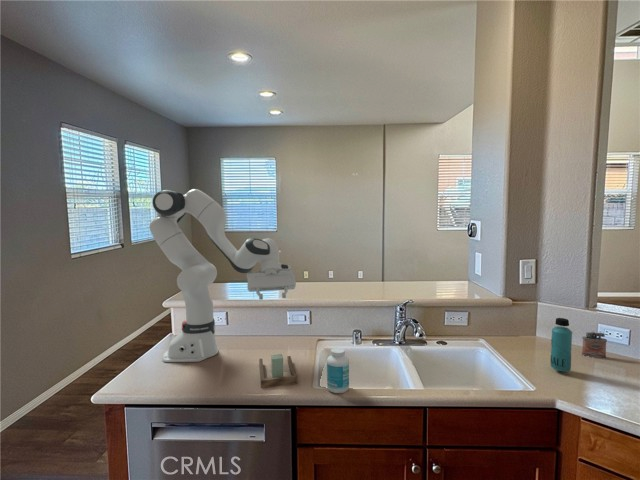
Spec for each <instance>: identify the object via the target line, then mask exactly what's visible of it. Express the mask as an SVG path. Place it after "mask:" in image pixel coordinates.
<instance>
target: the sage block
mask: <svg viewBox="0 0 640 480" xmlns="http://www.w3.org/2000/svg"><path fill="white" fill-rule="evenodd" d="M270 359H271V378H276V377H285V376H284V373H285V371H284V356H283V354H282V353H281V354H280V353H279V354H278V353H277V354H271V358H270Z"/></svg>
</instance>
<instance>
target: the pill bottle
mask: <svg viewBox="0 0 640 480" xmlns="http://www.w3.org/2000/svg"><path fill="white" fill-rule="evenodd" d="M349 360H350V359H349V358H348V356H347V355H346V350H345V349H344V348H342V347H334V348H331V350H330V355H329V356H328V357H327V359H326V376H327V377H326V381H327V384H326V385H327V389H328V391H329V392H331V393H334V394H344V393H346V392H348V390H349V388H350V373H349V372H350V361H349Z"/></svg>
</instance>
